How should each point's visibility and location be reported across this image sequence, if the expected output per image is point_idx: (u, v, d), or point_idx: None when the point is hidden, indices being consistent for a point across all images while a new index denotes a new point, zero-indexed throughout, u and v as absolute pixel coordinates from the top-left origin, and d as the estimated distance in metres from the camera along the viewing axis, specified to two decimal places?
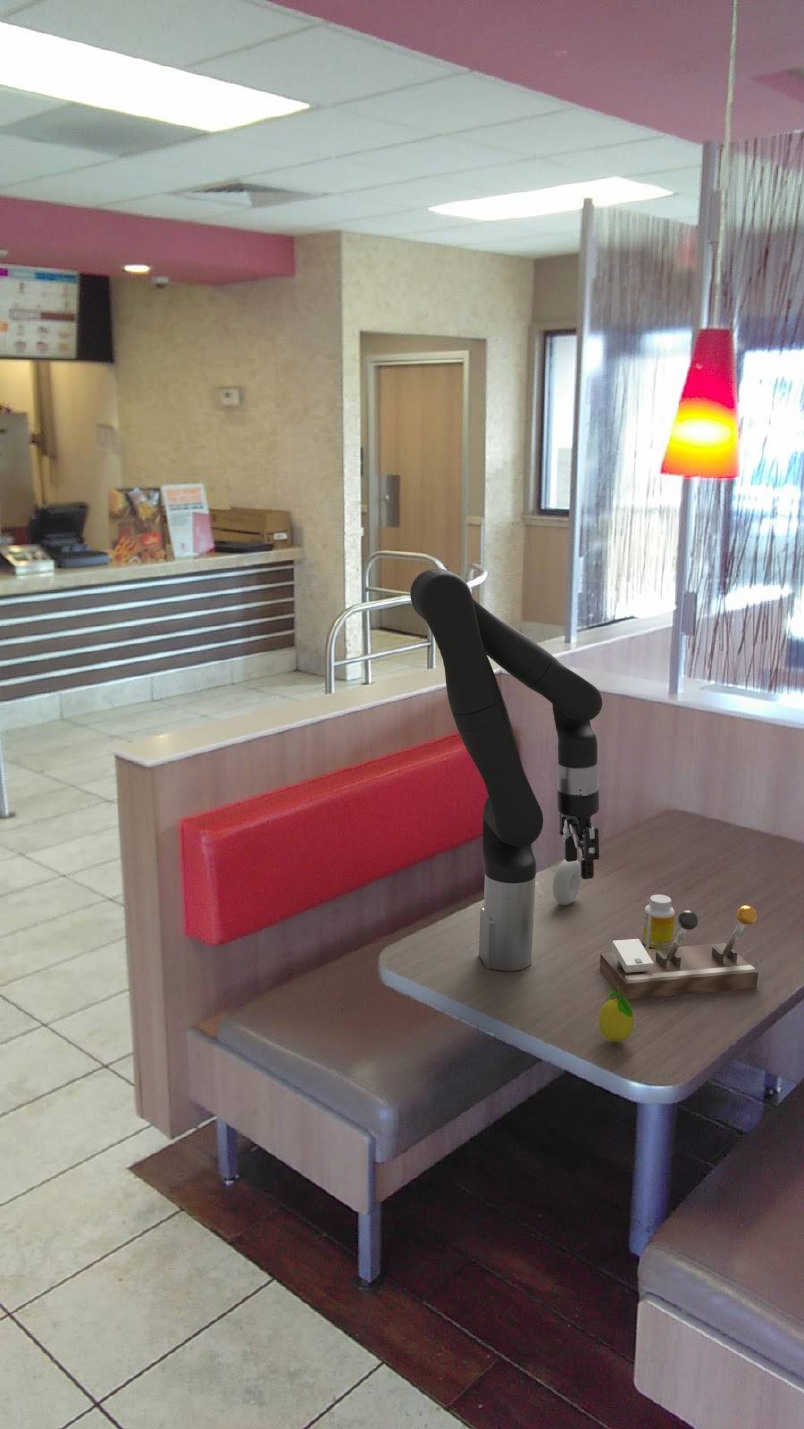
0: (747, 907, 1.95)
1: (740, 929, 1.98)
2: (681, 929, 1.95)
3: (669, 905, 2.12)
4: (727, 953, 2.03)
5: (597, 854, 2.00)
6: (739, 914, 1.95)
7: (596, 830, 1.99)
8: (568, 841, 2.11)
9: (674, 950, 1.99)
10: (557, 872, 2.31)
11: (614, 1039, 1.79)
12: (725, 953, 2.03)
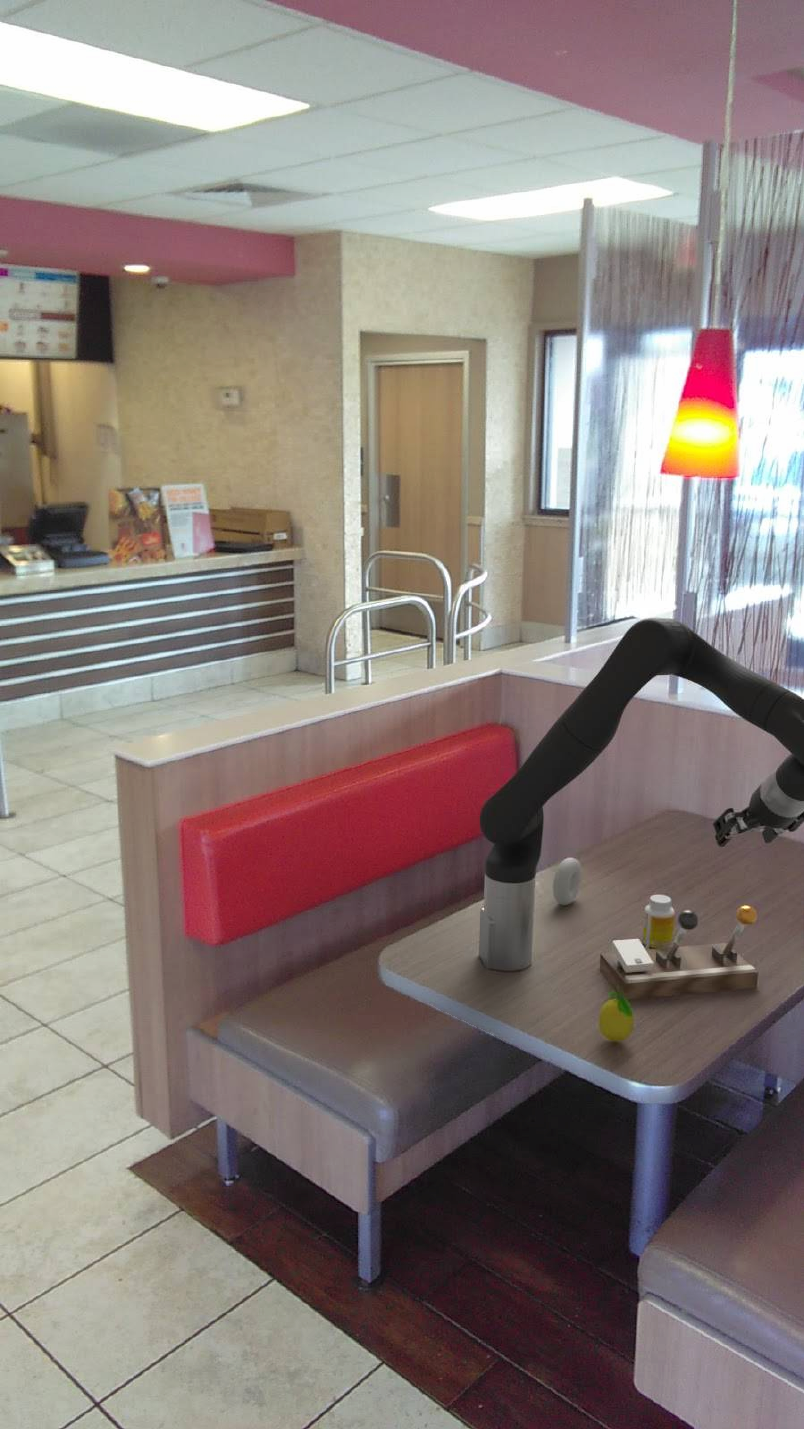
0: (747, 907, 1.95)
1: (740, 929, 1.98)
2: (681, 929, 1.95)
3: (669, 905, 2.12)
4: (727, 953, 2.03)
5: (718, 833, 1.83)
6: (739, 914, 1.95)
7: (731, 820, 1.80)
8: None
9: (674, 950, 1.99)
10: (557, 872, 2.31)
11: (614, 1039, 1.79)
12: (725, 953, 2.03)
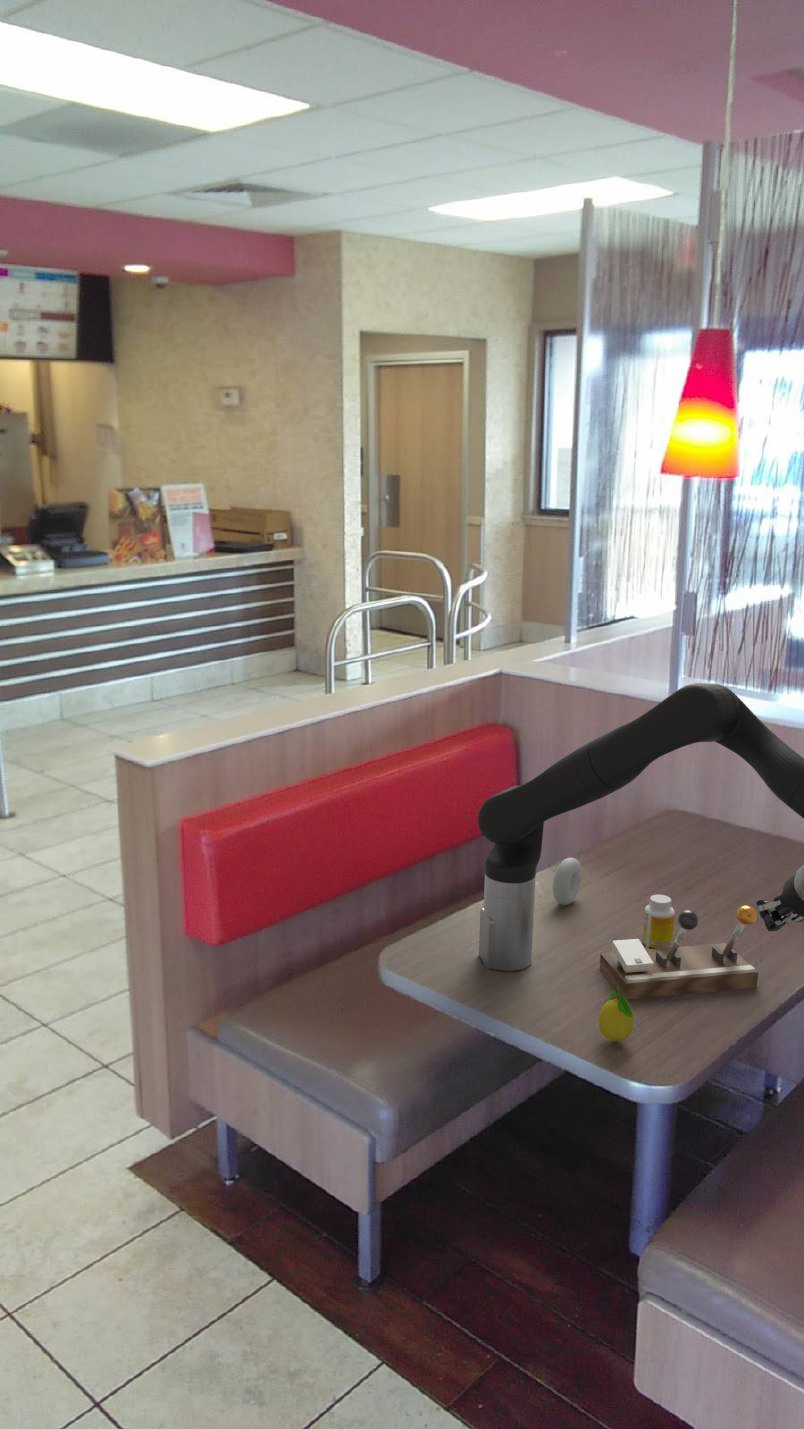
0: (747, 907, 1.95)
1: (740, 929, 1.98)
2: (681, 929, 1.95)
3: (669, 905, 2.12)
4: (727, 953, 2.03)
5: None
6: (739, 914, 1.95)
7: (760, 914, 1.79)
8: None
9: (674, 950, 1.99)
10: (557, 872, 2.31)
11: (614, 1039, 1.79)
12: (725, 953, 2.03)
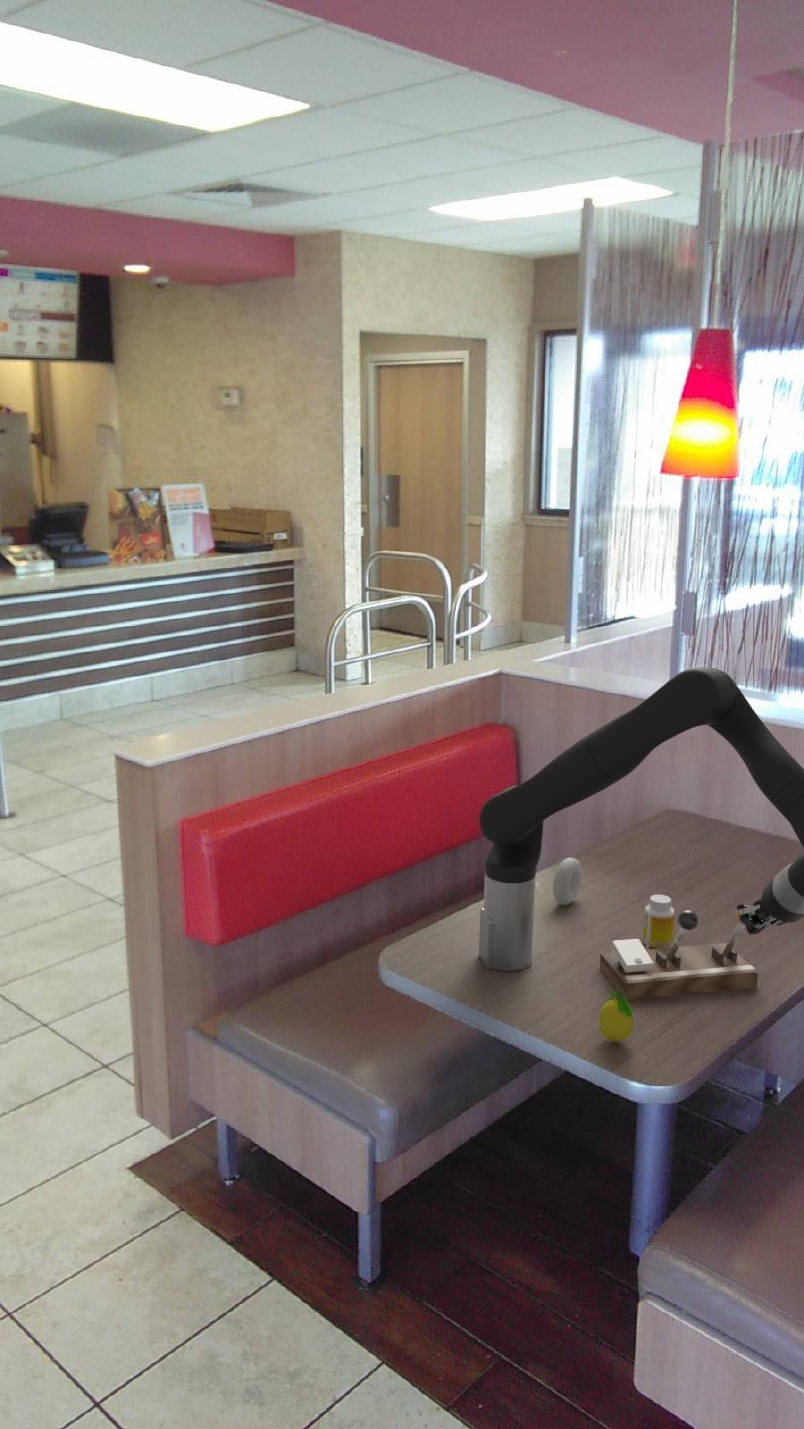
0: None
1: (740, 929, 1.98)
2: (681, 929, 1.95)
3: (669, 905, 2.12)
4: (727, 953, 2.03)
5: None
6: None
7: (740, 918, 1.86)
8: None
9: (674, 950, 1.99)
10: (557, 872, 2.31)
11: (614, 1039, 1.79)
12: (725, 953, 2.03)
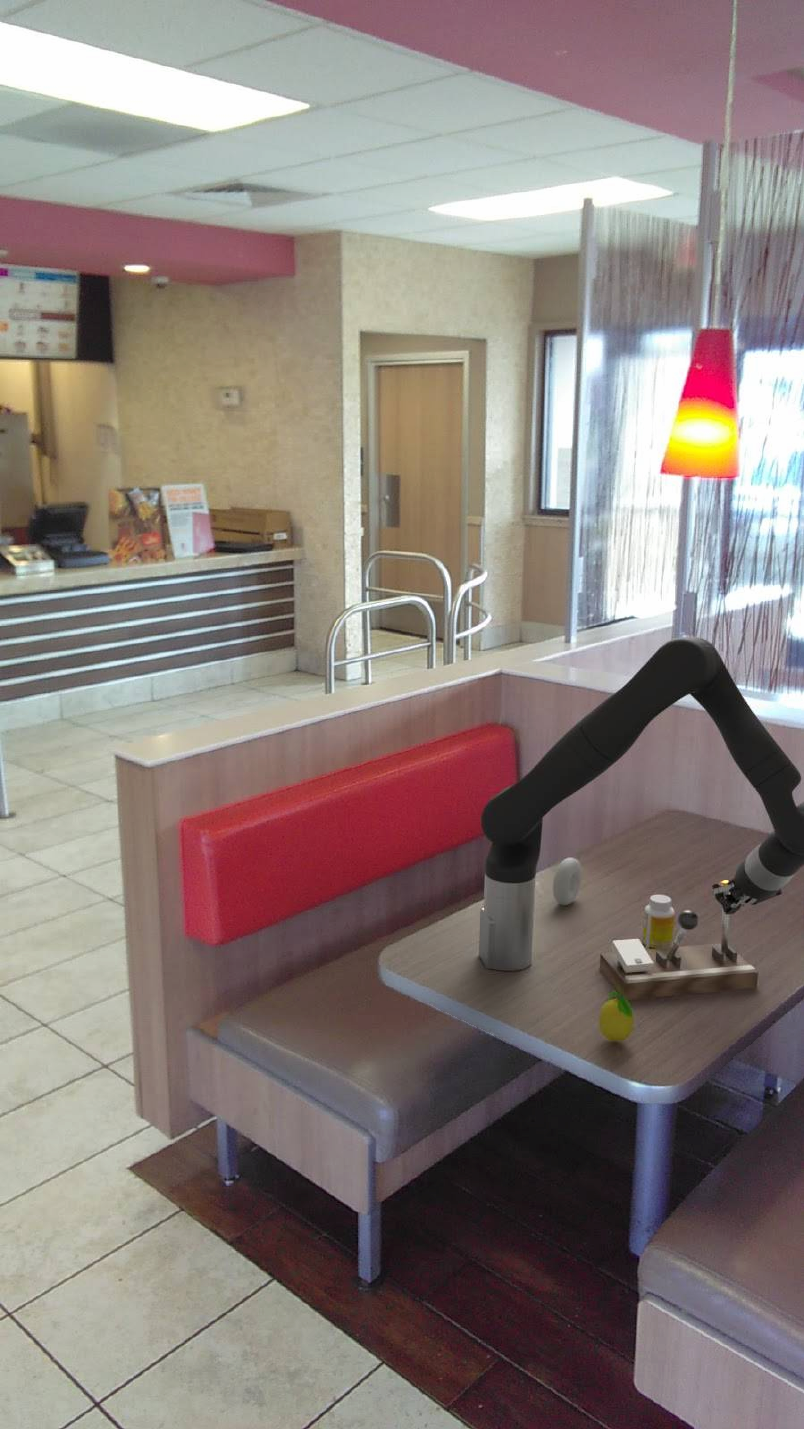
0: (724, 880, 2.03)
1: None
2: (681, 929, 1.95)
3: (669, 905, 2.12)
4: (725, 948, 2.04)
5: None
6: None
7: (715, 897, 1.94)
8: None
9: (674, 950, 1.99)
10: (557, 872, 2.31)
11: (614, 1039, 1.79)
12: (723, 949, 2.04)
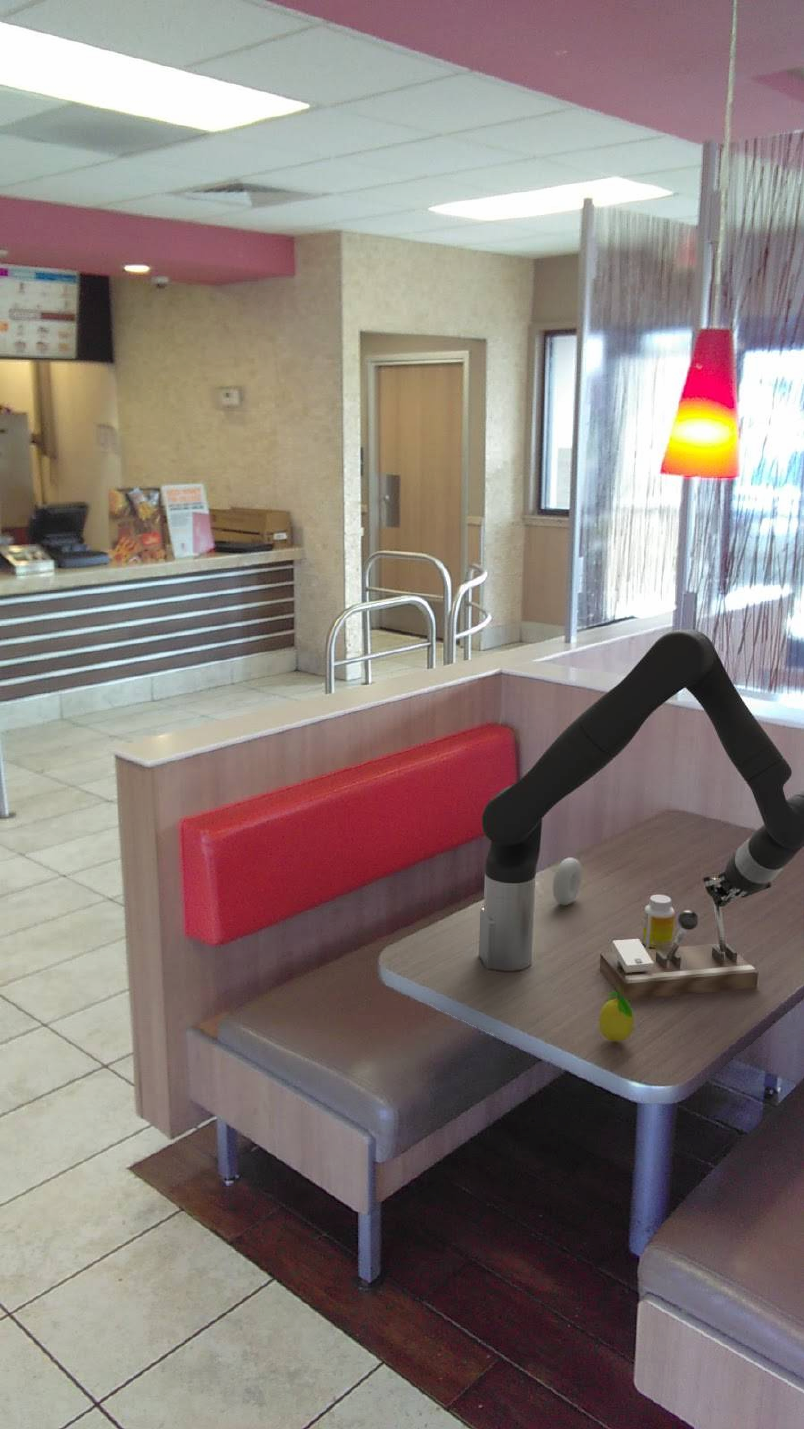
0: None
1: None
2: (681, 929, 1.95)
3: (669, 905, 2.12)
4: (723, 946, 2.04)
5: None
6: None
7: (706, 889, 1.97)
8: None
9: (674, 950, 1.99)
10: (557, 872, 2.31)
11: (614, 1039, 1.79)
12: (721, 947, 2.05)
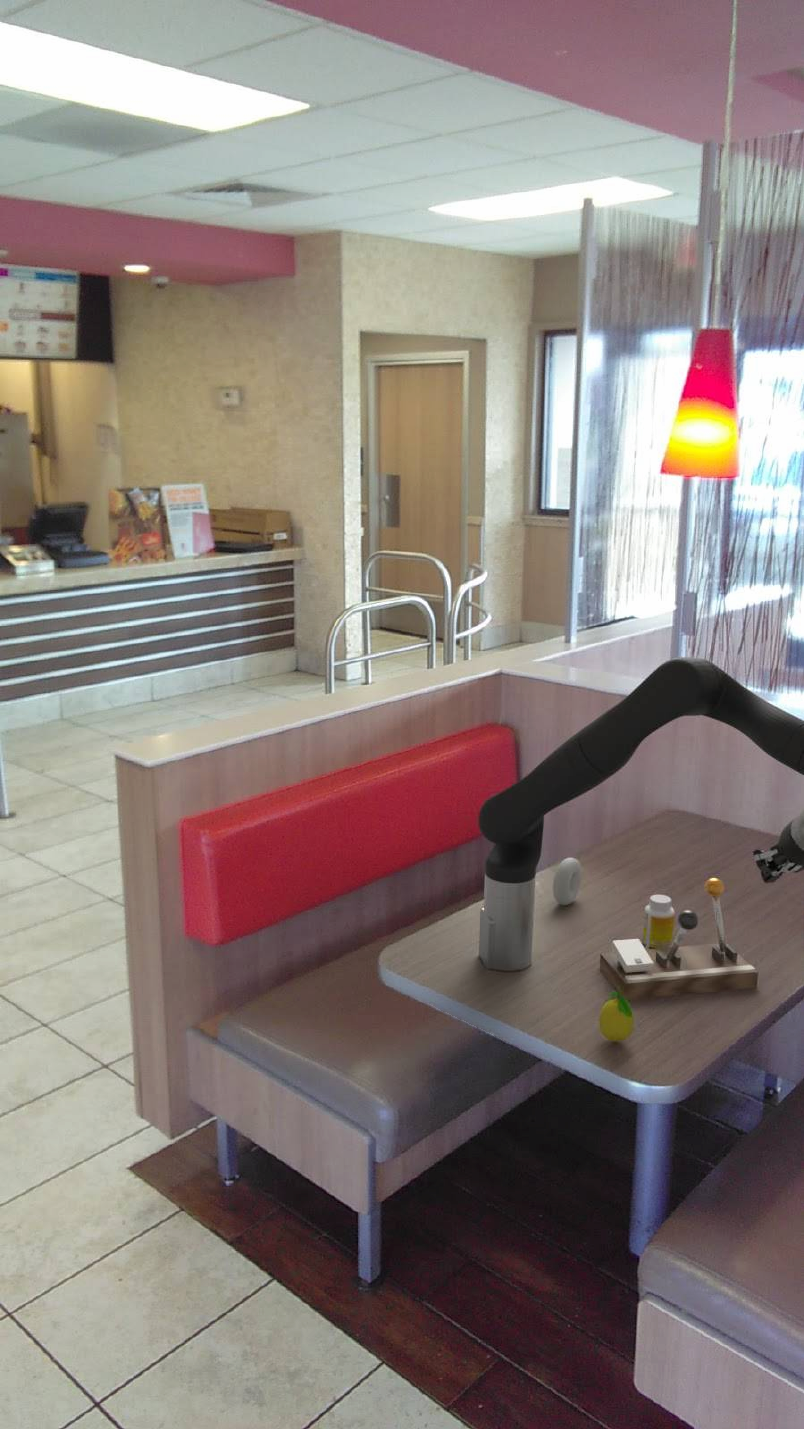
0: None
1: (717, 905, 2.06)
2: (681, 929, 1.95)
3: (669, 905, 2.12)
4: (723, 946, 2.04)
5: None
6: (706, 884, 2.07)
7: (756, 863, 1.78)
8: None
9: (674, 950, 1.99)
10: (557, 872, 2.31)
11: (614, 1039, 1.79)
12: (721, 947, 2.05)
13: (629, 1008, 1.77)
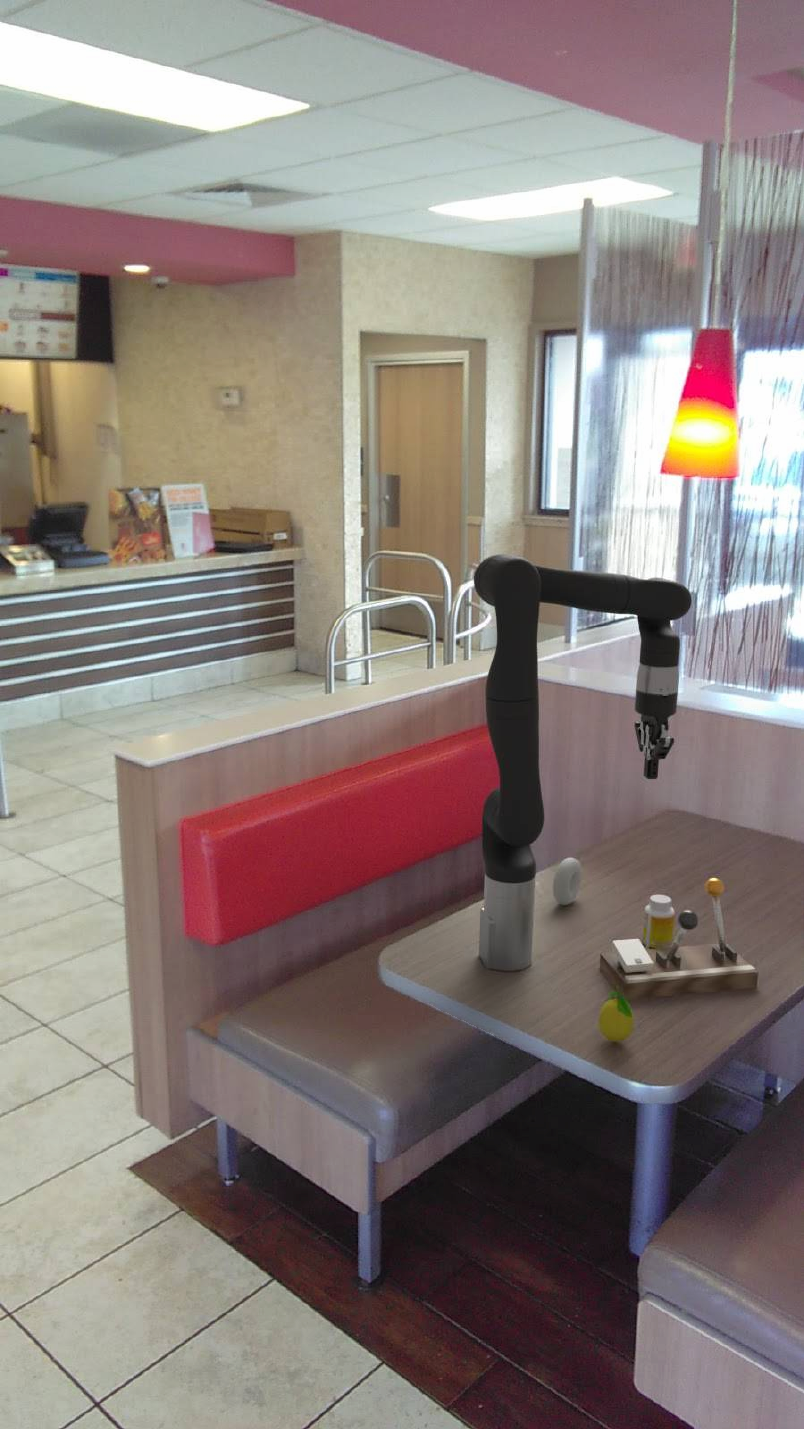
0: None
1: (717, 905, 2.06)
2: (681, 929, 1.95)
3: (669, 905, 2.12)
4: (723, 946, 2.04)
5: (664, 756, 2.06)
6: (706, 884, 2.07)
7: (672, 742, 2.03)
8: None
9: (674, 950, 1.99)
10: (557, 872, 2.31)
11: (614, 1039, 1.79)
12: (721, 947, 2.05)
13: (628, 1008, 1.77)
